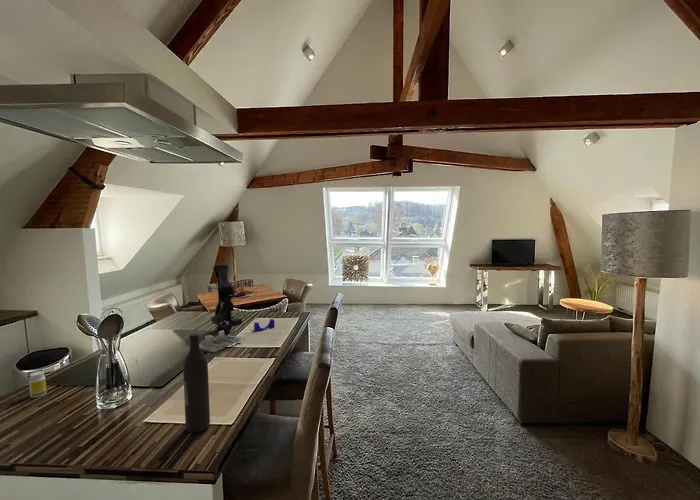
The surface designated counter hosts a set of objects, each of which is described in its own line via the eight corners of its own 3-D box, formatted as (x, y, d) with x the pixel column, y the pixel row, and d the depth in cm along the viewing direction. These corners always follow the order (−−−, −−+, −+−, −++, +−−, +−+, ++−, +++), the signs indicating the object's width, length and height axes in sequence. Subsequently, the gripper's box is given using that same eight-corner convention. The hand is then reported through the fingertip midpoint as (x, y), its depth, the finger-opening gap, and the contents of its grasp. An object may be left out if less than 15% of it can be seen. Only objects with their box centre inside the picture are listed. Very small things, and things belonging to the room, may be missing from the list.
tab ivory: (218, 337, 190) (218, 331, 190) (222, 336, 192) (222, 329, 192) (223, 339, 188) (223, 332, 188) (227, 337, 190) (227, 330, 190)
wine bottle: (198, 418, 113) (194, 330, 111) (214, 423, 110) (211, 332, 108) (180, 430, 106) (176, 336, 104) (197, 435, 104) (194, 339, 102)
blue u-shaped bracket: (257, 334, 202) (257, 324, 201) (254, 332, 205) (254, 322, 205) (275, 329, 210) (275, 320, 209) (272, 328, 213) (272, 318, 213)
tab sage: (205, 342, 182) (204, 335, 182) (209, 341, 184) (209, 334, 184) (210, 344, 180) (209, 336, 180) (214, 342, 182) (213, 335, 182)
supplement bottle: (49, 392, 132) (48, 371, 131) (35, 398, 127) (34, 376, 126) (40, 391, 133) (39, 370, 132) (26, 396, 128) (24, 375, 128)
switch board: (193, 347, 179) (193, 343, 179) (227, 336, 198) (227, 331, 198) (213, 353, 171) (213, 348, 171) (247, 340, 190) (247, 335, 190)
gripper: (202, 309, 185) (203, 337, 186) (225, 313, 176) (226, 342, 177) (219, 305, 195) (220, 331, 196) (242, 308, 185) (243, 336, 186)
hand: (227, 335), depth 188 cm, fingers closed
